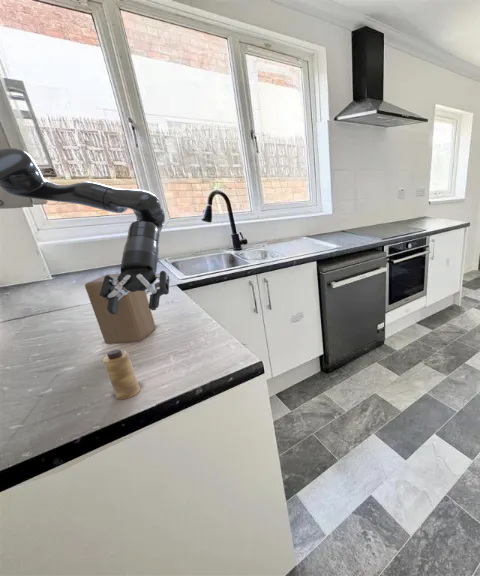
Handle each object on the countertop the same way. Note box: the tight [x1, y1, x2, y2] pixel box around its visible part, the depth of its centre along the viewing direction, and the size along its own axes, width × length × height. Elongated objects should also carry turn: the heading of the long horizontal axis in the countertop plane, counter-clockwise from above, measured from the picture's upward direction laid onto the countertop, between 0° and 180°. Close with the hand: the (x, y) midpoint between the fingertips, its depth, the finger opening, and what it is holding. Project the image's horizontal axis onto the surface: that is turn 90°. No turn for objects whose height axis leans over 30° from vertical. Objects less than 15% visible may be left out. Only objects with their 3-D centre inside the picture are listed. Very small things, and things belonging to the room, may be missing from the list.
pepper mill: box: [102, 348, 141, 400], centre depth 70 cm, size 4×4×11 cm
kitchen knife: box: [145, 280, 160, 293], centre depth 140 cm, size 4×1×30 cm
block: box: [84, 273, 156, 345], centre depth 96 cm, size 10×10×20 cm
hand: (132, 311), depth 77 cm, fingers open, 8 cm apart
